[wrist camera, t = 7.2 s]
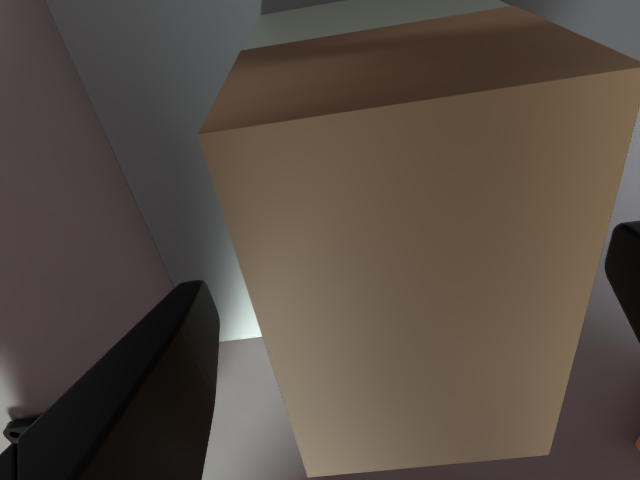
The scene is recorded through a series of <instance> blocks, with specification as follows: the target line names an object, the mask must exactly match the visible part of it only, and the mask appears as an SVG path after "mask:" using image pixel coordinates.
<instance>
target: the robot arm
mask: <svg viewBox="0 0 640 480" xmlns="http://www.w3.org/2000/svg"><path fill="white" fill-rule="evenodd" d="M605 273H606V276H607V278H608V281H609V283H610V285H611V287H612V289H613V291H614V293H615V295H616V297H617V299H618V301H619V303H620V305H621V307H622V309H623V311H624V313H625V315H626V317H627V319H628V321H629V323H630V325H631V327H632V329H633V331H634V333H635V335H636V337H637V339H638V341H639V343H640V221H633V222H626V223H620V224H618V225H617V226H616V227H615V228H614V230H613V232H612V236H611V240H610V244H609V248H608V252H607V255H606V259H605ZM219 334H220V318H219V313H218V310H217V308H216V305H215V303H214V300H213V298H212V295H211V293H210V290H209V288H208V285H207V284H206V282H205V281H203V280H193V281H186V282H181V283H180V284H178V285H177V286H176V287H175V288H174V289H173V290H172V291H171V292H170V293H169V294H168V295H167V296H166V297H165V298H164V299H163V300H161V301H160V302H159V303H158V304H157V305H156V306H155V307H154V308H153V309H152V310H151V311H150V312H149V313H148V314H147V315H146V316H145V317H144V318H143V319H142V320H141V321H140V322H138V323H137V324H136V325H135V326H134V327H133V328H132V329H131V330H130V331H129V332H128V333H127V334H126V335H125V336H124V337H123V338H122V339H121V340H120V341H119V342H118V343H116V344H115V345H114V346H113V347H112V348H111V349H110V350H109V351H108V352H107V353H106V354H105V355H104V356H103V357H102V358H101V359H100V360H99V361H98V362H97V363H96V364H95V365H93V366H92V367H91V368H90V369H89V370H88V371H87V372H86V373H85V374H84V375H83V376H82V377H81V378H80V379H79V380H78V381H77V382H76V383H75V384H74V385H73V386H71V387H70V388H69V389H68V390H67V391H66V392H65V393H64V394H63V395H62V396H61V397H60V398H59V399H58V400H57V401H56V402H55V403H54V404H53V405H52V406H51V407H49V408H48V409H47V410H46V411H45V412H44V413H43V414H42V415H41V416H40V417H39V418H31V419H22V420H13V421H10V422H9V423H8V425H7V426H6V428H5V430H4V431H3V434H4V436H5V437H6V438H7V439H8V440H9V441H10V442H11V443H12V444H11V445H10V446H8V447H7V448H6V449H5V450H4V451H3V452H2V453H1V454H0V480H202V474H203V469H204V463H205V458H206V452H207V447H208V441H209V435H210V430H211V424H212V419H213V413H214V406H215V397H216V383H217V367H218V351H219Z"/></svg>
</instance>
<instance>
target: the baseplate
mask: <svg viewBox="0 0 640 480" xmlns="http://www.w3.org/2000/svg"><path fill="white" fill-rule="evenodd" d="M45 2H46V4H47V7H48V9H49V11H50V13H51V15H52V18H53V20H54V22H55V24H56V27H57V29H58V31H59V33H60V35H61V38H62V40H63V42H64V44H65V46H66V49H67V51H68V53H69V55H70V58H71V60H72V62H73V64H74V66H75V69H76V71H77V73H78V75H79V77H80V80H81V82H82V84H83V86H84V89H85V91H86V93H87V95H88V97H89V100H90V102H91V104H92V106H93V108H94V111H95V113H96V115H97V117H98V120H99V122H100V124H101V126H102V128H103V131H104V133H105V135H106V137H107V139H108V142H109V144H110V146H111V148H112V150H113V153H114V155H115V157H116V159H117V162H118V164H119V166H120V168H121V170H122V173H123V175H124V177H125V179H126V181H127V184H128V186H129V188H130V190H131V193H132V195H133V197H134V199H135V201H136V204H137V206H138V208H139V210H140V212H141V215H142V217H143V219H144V221H145V224H146V226H147V228H148V230H149V232H150V235H151V237H152V239H153V241H154V243H155V246H156V248H157V250H158V252H159V254H160V257H161V259H162V261H163V263H164V266H165V268H166V270H167V272H168V274H169V277H170V279H171V281H172V283H173V285H174V288H175V287H176V286H177V285H178V284H180V283H181V282H186V281H193V280H203V281H205V282H206V284H207V285H208V288H209V290H210V293H211V295H212V298H213V300H214V303H215V305H216V308H217V310H218V313H219V318H220V334H219V342H221V341H229V340H238V339H246V338H254V337H262V334H261V331H260V328H259V325H258V322H257V318H256V315H255V312H254V309H253V306H252V303H251V300H250V297H249V294H248V291H247V287H246V284H245V281H244V278H243V275H242V272H241V269H240V266H239V263H238V260H237V256H236V253H235V250H234V247H233V244H232V241H231V238H230V235H229V232H228V229H227V225H226V222H225V219H224V216H223V213H222V210H221V207H220V204H219V201H218V198H217V194H216V191H215V188H214V185H213V182H212V179H211V176H210V173H209V170H208V167H207V163H206V160H205V157H204V154H203V151H202V148H201V145H200V142H199V139H198V135H197V134H198V132H199V130H200V128H201V126H202V124H203V122H204V120H205V118H206V117H207V115H208V113H209V111H210V109H211V107H212V105H213V103H214V101H215V99H216V97H217V95H218V93H219V91H220V89H221V88H222V86H223V84H224V82H225V80H226V78H227V76H228V74H229V72H230V70H231V68H232V66H233V64H234V62H235V60H236V58H237V57H238V55H239V53H240V51H241V50H247V49H253V48H259V47H265V46H271V45H277V44H283V43H289V42H295V41H301V40H307V39H314V38H320V37H326V36H332V35H338V34H344V33H350V32H356V31H362V30H368V29H374V28H380V27H387V26H393V25H399V24H405V23H411V22H417V21H423V20H429V19H435V18H441V17H447V16H454V15H460V14H466V13H472V12H478V11H484V10H490V9H496V8H502V7H508V6H514V5H515V6H517V7H519V8H521V9H524V10H526V11H528V12H530V13H533V14H535V15H537V16H539V17H541V18H544V19H546V20H548V21H550V22H553V23H555V24H557V25H559V26H562V27H564V28H566V29H568V30H571V31H573V32H575V33H577V34H580V35H582V36H584V37H586V38H589V39H591V40H593V41H595V42H598V43H600V44H602V45H604V46H607V47H609V48H611V49H613V50H615V51H618V52H620V53H622V54H624V55H627V56H629V57H631V58H633V59H636V60H638V61H640V0H45Z"/></svg>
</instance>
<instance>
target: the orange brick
mask: <svg viewBox="0 0 640 480" xmlns="http://www.w3.org/2000/svg"><path fill="white" fill-rule="evenodd" d="M635 446H636V447H637V449H638V451H639V452H640V436H639V438H638V439H637V441H636V443H635Z"/></svg>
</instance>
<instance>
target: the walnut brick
mask: <svg viewBox="0 0 640 480" xmlns="http://www.w3.org/2000/svg"><path fill="white" fill-rule="evenodd" d="M639 106H640V61H638V60H636V59H633V58H631V57H629V56H627V55H624V54H622V53H620V52H618V51H615V50H613V49H611V48H609V47H607V46H604V45H602V44H600V43H598V42H595V41H593V40H591V39H589V38H586V37H584V36H582V35H580V34H577V33H575V32H573V31H571V30H568V29H566V28H564V27H562V26H559V25H557V24H555V23H553V22H550V21H548V20H546V19H544V18H541V17H539V16H537V15H535V14H533V13H530V12H528V11H526V10H524V9H521V8H519V7H517V6H515V5H514V6H508V7H502V8H496V9H490V10H484V11H478V12H472V13H466V14H460V15H454V16H447V17H441V18H435V19H429V20H423V21H417V22H411V23H405V24H399V25H393V26H387V27H380V28H374V29H368V30H362V31H356V32H350V33H344V34H338V35H332V36H326V37H320V38H314V39H307V40H301V41H295V42H289V43H283V44H277V45H271V46H265V47H259V48H253V49H247V50H241V51H240V53H239V55H238V57H237V58H236V60H235V62H234V64H233V66H232V68H231V70H230V72H229V74H228V76H227V78H226V80H225V82H224V84H223V86H222V88H221V89H220V91H219V93H218V95H217V97H216V99H215V101H214V103H213V105H212V107H211V109H210V111H209V113H208V115H207V117H206V118H205V120H204V122H203V124H202V126H201V128H200V130H199V132H198V134H197V135H198V139H199V142H200V145H201V148H202V151H203V154H204V157H205V160H206V163H207V167H208V170H209V173H210V176H211V179H212V182H213V185H214V188H215V191H216V194H217V198H218V201H219V204H220V207H221V210H222V213H223V216H224V219H225V222H226V225H227V229H228V232H229V235H230V238H231V241H232V244H233V247H234V250H235V253H236V256H237V260H238V263H239V266H240V269H241V272H242V275H243V278H244V281H245V284H246V287H247V291H248V294H249V297H250V300H251V303H252V306H253V309H254V312H255V315H256V318H257V322H258V325H259V328H260V331H261V334H262V337H263V340H264V343H265V346H266V349H267V353H268V356H269V359H270V362H271V365H272V368H273V371H274V374H275V377H276V380H277V384H278V387H279V390H280V393H281V396H282V399H283V402H284V405H285V408H286V411H287V415H288V418H289V421H290V424H291V427H292V430H293V433H294V436H295V439H296V442H297V446H298V449H299V452H300V455H301V458H302V461H303V464H304V467H305V470H306V474H307V477H308V478H309V477H320V476H330V475H341V474H352V473H362V472H373V471H384V470H394V469H405V468H416V467H426V466H437V465H448V464H458V463H469V462H479V461H490V460H501V459H511V458H522V457H533V456H543V455H549V453H550V449H551V446H552V442H553V438H554V434H555V430H556V426H557V422H558V419H559V415H560V411H561V407H562V403H563V399H564V395H565V392H566V388H567V384H568V380H569V376H570V372H571V368H572V365H573V361H574V357H575V353H576V349H577V345H578V341H579V338H580V334H581V330H582V326H583V322H584V318H585V315H586V311H587V307H588V303H589V299H590V295H591V291H592V288H593V284H594V280H595V276H596V272H597V268H598V264H599V261H600V257H601V253H602V249H603V245H604V241H605V237H606V234H607V230H608V226H609V222H610V218H611V214H612V210H613V207H614V203H615V199H616V195H617V191H618V187H619V183H620V180H621V176H622V172H623V168H624V164H625V160H626V156H627V153H628V149H629V145H630V141H631V137H632V133H633V129H634V126H635V122H636V118H637V114H638V110H639Z"/></svg>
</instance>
